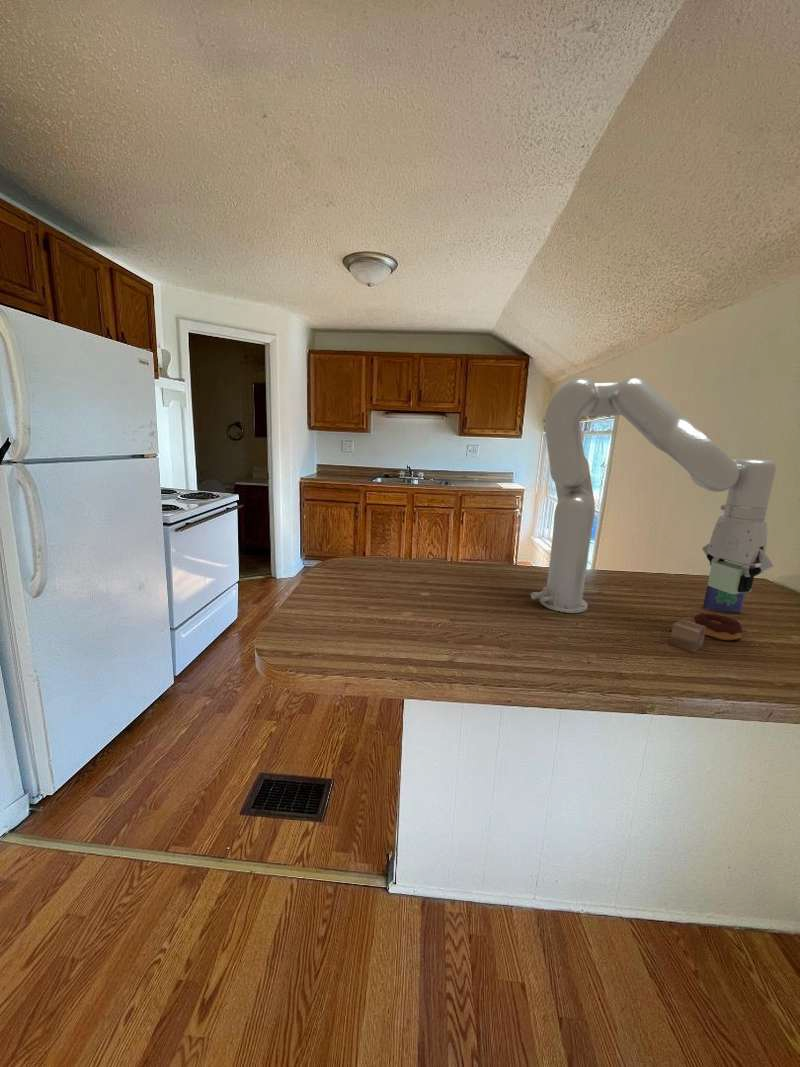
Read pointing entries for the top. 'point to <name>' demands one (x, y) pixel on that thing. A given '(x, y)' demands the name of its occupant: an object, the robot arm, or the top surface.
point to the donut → (719, 626)
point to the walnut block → (687, 635)
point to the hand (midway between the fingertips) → (729, 586)
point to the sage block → (726, 576)
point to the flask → (723, 601)
